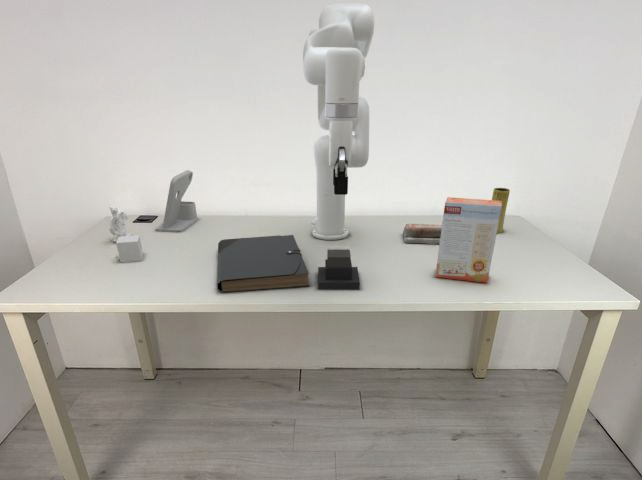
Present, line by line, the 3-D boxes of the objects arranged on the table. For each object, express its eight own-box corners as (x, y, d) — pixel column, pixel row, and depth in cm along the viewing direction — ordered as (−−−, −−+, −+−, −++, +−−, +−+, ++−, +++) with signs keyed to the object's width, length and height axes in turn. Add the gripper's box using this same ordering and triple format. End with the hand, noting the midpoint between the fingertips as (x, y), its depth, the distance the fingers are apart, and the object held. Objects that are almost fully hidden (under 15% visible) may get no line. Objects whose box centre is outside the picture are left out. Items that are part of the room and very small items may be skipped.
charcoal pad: (325, 279, 124) (325, 268, 123) (325, 269, 130) (325, 259, 129) (351, 279, 124) (352, 268, 123) (350, 269, 130) (350, 259, 129)
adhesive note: (120, 262, 140) (115, 242, 137) (123, 255, 145) (118, 236, 142) (141, 260, 141) (137, 241, 138) (143, 254, 146) (139, 235, 143)
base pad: (317, 289, 124) (317, 282, 122) (318, 273, 133) (318, 266, 132) (359, 289, 124) (360, 282, 123) (356, 273, 133) (357, 266, 132)
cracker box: (488, 276, 132) (503, 199, 121) (487, 284, 127) (502, 205, 116) (437, 269, 135) (447, 195, 125) (434, 277, 131) (445, 200, 120)
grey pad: (327, 268, 123) (327, 257, 121) (327, 259, 128) (327, 249, 127) (350, 268, 123) (350, 257, 121) (349, 259, 128) (349, 249, 127)
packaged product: (405, 229, 153) (403, 220, 161) (404, 243, 155) (402, 234, 164) (462, 230, 151) (456, 221, 160) (459, 245, 154) (454, 235, 162)
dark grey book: (309, 272, 123) (216, 279, 119) (310, 286, 125) (218, 294, 122) (293, 233, 151) (217, 238, 147) (294, 246, 153) (219, 251, 149)
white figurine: (130, 244, 154) (122, 207, 148) (108, 245, 153) (99, 208, 147) (134, 236, 161) (127, 201, 155) (114, 237, 160) (105, 201, 154)
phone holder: (174, 217, 181) (166, 168, 172) (200, 218, 180) (193, 169, 171) (155, 230, 166) (145, 177, 157) (182, 232, 165) (174, 178, 156)
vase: (504, 229, 168) (513, 188, 161) (500, 234, 164) (508, 192, 156) (487, 227, 171) (495, 186, 164) (482, 231, 167) (490, 190, 159)
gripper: (324, 108, 114) (324, 182, 123) (325, 115, 99) (325, 198, 108) (355, 108, 114) (353, 182, 123) (360, 115, 99) (357, 198, 108)
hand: (340, 189), depth 116 cm, fingers open, 9 cm apart
